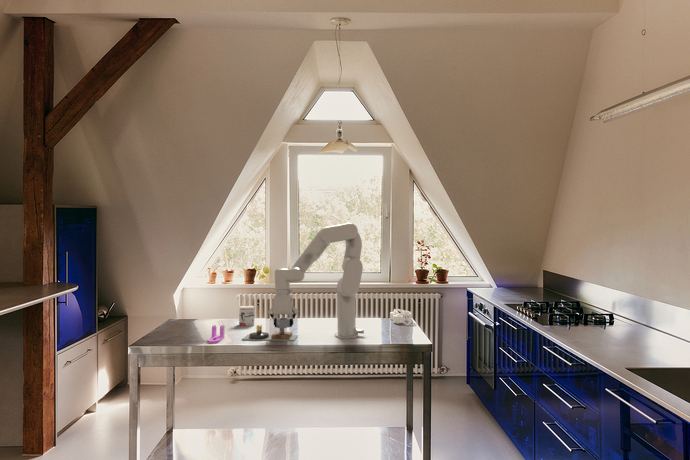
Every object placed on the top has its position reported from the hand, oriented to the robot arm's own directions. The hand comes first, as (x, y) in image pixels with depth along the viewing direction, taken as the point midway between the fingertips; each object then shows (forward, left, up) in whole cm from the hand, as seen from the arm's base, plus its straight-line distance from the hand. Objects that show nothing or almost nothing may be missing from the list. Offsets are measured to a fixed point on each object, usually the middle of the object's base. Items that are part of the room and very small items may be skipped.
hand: (283, 326), depth 243 cm
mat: (+7, 0, -6) cm, 9 cm away
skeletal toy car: (-63, -47, -7) cm, 79 cm away
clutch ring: (0, 0, 0) cm, 0 cm away
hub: (+13, 0, -6) cm, 14 cm away
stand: (+1, 0, -6) cm, 6 cm away
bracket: (+33, +7, -7) cm, 35 cm away
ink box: (+28, -30, -7) cm, 41 cm away
